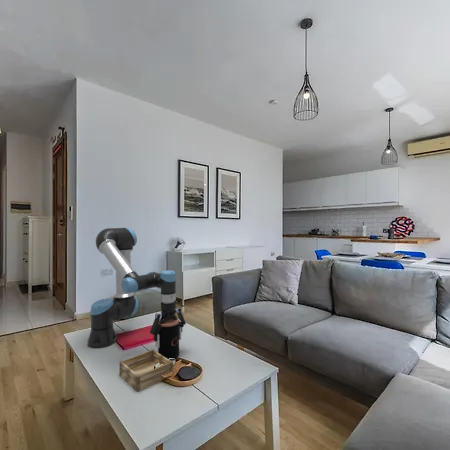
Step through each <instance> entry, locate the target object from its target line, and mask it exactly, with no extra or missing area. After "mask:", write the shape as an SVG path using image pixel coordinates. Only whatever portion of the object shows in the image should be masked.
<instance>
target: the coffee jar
mask: <svg viewBox="0 0 450 450" xmlns="http://www.w3.org/2000/svg"><path fill="white" fill-rule="evenodd" d="M163 320H164V319H163ZM159 321H160V320H159ZM179 321H180V319H179V318H178V319H177V320H175V319H173V318H172V319H170V320H168V321H167V320H166V322H165V323H164V324H160V325H161V327H162V328H161V329H160V331H159V333H158V334H159V348H157V352H158V353H159V354H161V355H162V356H164V357H165V358H167V359H169V358H175V359H177V358H178V356H179V354H180V340H179V324H178V323H179ZM176 357H177V358H176Z"/></svg>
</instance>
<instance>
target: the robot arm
mask: <svg viewBox="0 0 450 450" xmlns="http://www.w3.org/2000/svg"><path fill="white" fill-rule="evenodd" d="M137 240H138V237H137V234H136V232H135V231H134V229H132V227H131V228H130V227H114V228H110V227H108V228H103V229H102V230H100V231H99V232H98V234H97V235H96V238H95V246H96V249H97V250H98V252H99V253H100V254H102V255H104V257H105V258H106V260H107V261H108V263H110V265H111V266H112V267H113V269H114V271H115V289H116V290H115V294H114V295H113V298H102V299H99V300H95V302H93V303H92V304H91V306H90V331H89V332H90V333H89V335H88V338H87V347H90V348H92V349H102V348H106V347H109V346H111V345H113V344H115V343H116V342H117V341H116V339H117V340H118V338H117V332H116V330H115V328H114V321H119V320H121V319H125V318H128V317H131V316H133V315H136V313H137V312H138V311H139V310H138V309H139V300H138V297H137V296H136V295H135V293H137V292H140V291H145V290H150V289H153V288H156V289H160V310H161V311H160V312H159V313H157V312H156V313H155V314H154V315H155V317H154V319H153V322H152V325H151V327H150V328H151V329H150V330H149V334H151V335H153V341H154V347H155V348H157V349H158V348H159V334H158V333H159V331H160V329H161V328H162V327H161V325H160V324H164V323H165V322H166V320H167V321H168V320H170V319H172V318H173V319H175V320H177V319H178V320H179V323H178V324H179V341H182V333H183V328H184V327H185V326H186V320H185V318H184V316H183V314H182V309H181V308H180V307H177V301H176V300H177V297H176V296H177V295H176V294H177V293H176V291H177V287H176V286H177V277H176V272H175V270H170V269H167V270H162V271H161V272H157V271H148V272H147V273H146V274H141V275H139V274H138V273H137V272H136V270H135V269H134V268H133V266H132V264H131V257H132V255H131V254H132V253H131V252H133V249H134V246H136V244H137V242H138V241H137ZM176 315H177V316H178V317H177V316H176ZM163 319H164V320H163ZM159 320H160V321H159ZM184 325H185V326H184Z"/></svg>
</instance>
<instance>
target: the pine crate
mask: <svg viewBox="0 0 450 450" xmlns="http://www.w3.org/2000/svg"><path fill="white" fill-rule="evenodd" d="M118 362H119V364H118V365H119V366H118V367H119V369H118V370H119V374H118V375H119V377H121V378H122V379H123V380H124V381H125V382H126V383H127V384H128V385H129V386H130V387H131V388H133V389H134V390H135V391H136V392H140V391H142V390H145V389H146V388H149V387H151V386H153V385H155V384H158V383H160V382H162V381H163V380H162V378H161V376H162V375H165V374H168V373H170V372H173V373H174V362H173V361H172V360H168V359H167V358H165V357H164V356H162V355H161V354H159V353H158V351H156V350H155V349H150V350H148V351H145V352H143V353H140V354H138V355H134V356H132V357H129V358H127V359H124V360H120V361H118ZM157 363H161V364H163V365H162V366H160V367H157V368H155V369H154V366H155V364H157ZM162 371H163V372H162ZM160 372H161V373H160Z"/></svg>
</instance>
